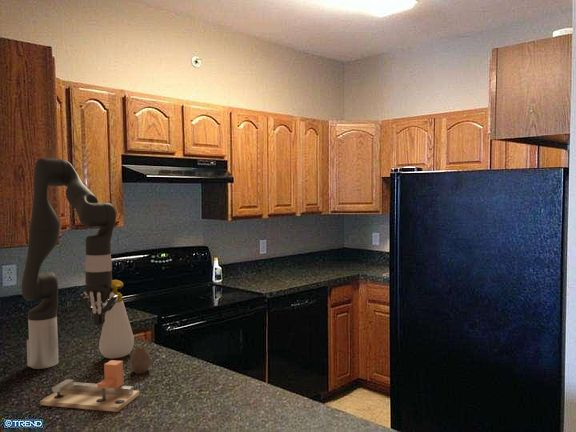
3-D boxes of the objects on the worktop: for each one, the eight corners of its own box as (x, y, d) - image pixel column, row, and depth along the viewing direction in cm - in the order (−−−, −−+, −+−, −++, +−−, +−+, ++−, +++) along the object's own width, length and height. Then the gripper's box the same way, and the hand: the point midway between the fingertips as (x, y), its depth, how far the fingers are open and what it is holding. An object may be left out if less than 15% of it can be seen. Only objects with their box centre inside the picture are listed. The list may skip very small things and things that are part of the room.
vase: (129, 376, 164) (129, 350, 164) (130, 369, 171) (130, 344, 171) (151, 373, 166) (150, 348, 166) (151, 367, 173) (150, 342, 172)
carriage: (95, 400, 141) (94, 370, 141) (111, 388, 150) (110, 360, 149) (108, 401, 141) (107, 370, 140) (123, 389, 149) (122, 360, 148)
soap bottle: (103, 364, 176) (100, 284, 175) (96, 356, 185) (94, 280, 183) (139, 357, 183) (137, 280, 182) (131, 350, 192) (129, 276, 190)
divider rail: (48, 397, 145) (48, 387, 145) (65, 387, 152) (65, 377, 152) (119, 403, 140) (118, 392, 140) (133, 393, 147) (132, 382, 147)
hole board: (40, 404, 143) (40, 400, 143) (67, 388, 154) (66, 384, 154) (117, 411, 137) (117, 407, 137) (139, 394, 149) (139, 390, 149)
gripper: (71, 269, 146) (72, 327, 147) (111, 272, 143) (111, 330, 144) (87, 265, 153) (88, 320, 155) (125, 267, 151) (125, 323, 152)
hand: (99, 325), depth 149 cm, fingers closed
